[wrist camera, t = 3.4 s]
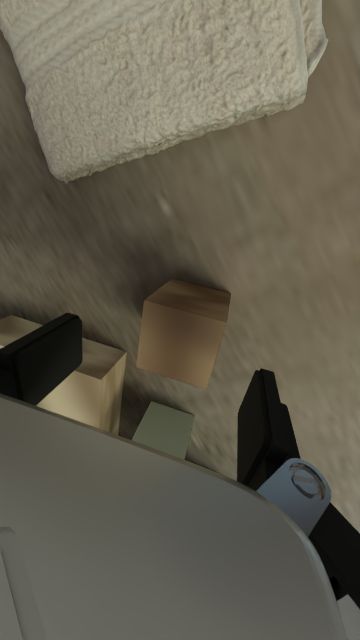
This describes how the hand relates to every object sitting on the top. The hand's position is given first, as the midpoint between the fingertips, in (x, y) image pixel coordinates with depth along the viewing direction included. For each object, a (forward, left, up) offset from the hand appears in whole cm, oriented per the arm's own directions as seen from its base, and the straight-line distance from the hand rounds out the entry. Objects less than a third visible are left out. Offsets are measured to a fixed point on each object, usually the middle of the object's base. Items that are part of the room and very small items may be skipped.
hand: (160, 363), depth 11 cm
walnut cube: (0, 0, -9) cm, 9 cm away
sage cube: (0, +14, -9) cm, 17 cm away
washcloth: (+6, -16, -9) cm, 19 cm away
